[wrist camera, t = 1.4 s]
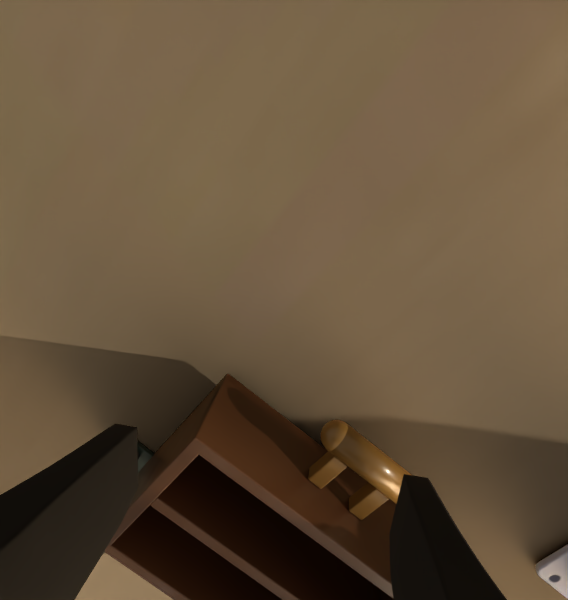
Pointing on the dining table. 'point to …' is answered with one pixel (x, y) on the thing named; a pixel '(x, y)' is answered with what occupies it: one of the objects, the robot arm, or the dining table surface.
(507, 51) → the dining table surface
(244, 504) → the drawer
